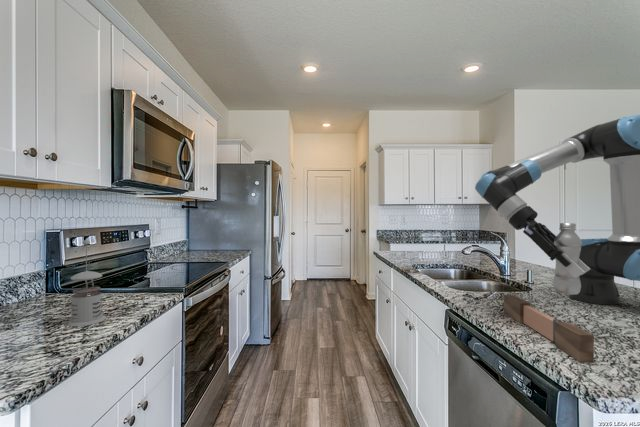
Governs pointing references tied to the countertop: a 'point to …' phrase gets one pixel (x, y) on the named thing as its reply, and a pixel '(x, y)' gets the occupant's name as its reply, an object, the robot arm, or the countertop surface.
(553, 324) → the gate
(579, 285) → the plastic bottle
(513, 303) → the row of wooden blocks
